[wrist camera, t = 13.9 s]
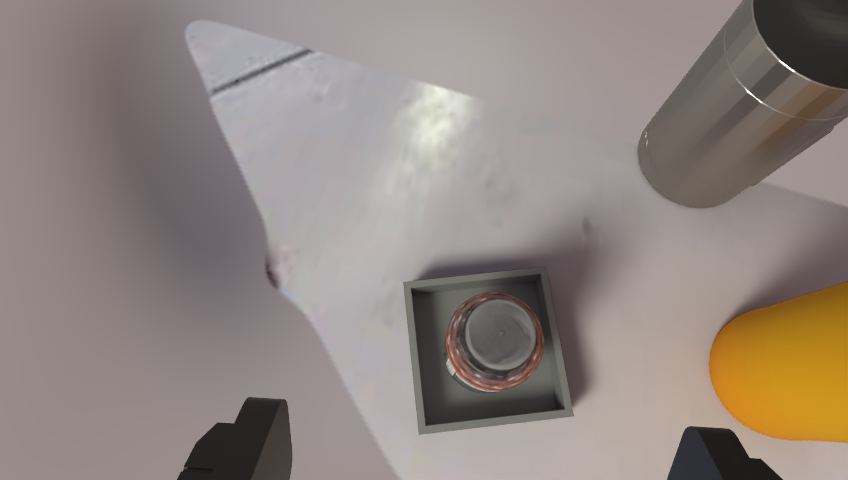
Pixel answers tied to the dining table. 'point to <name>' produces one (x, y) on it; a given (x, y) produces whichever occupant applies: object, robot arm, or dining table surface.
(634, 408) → the dining table surface
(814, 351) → the yellow bottle
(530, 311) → the supplement bottle
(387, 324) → the dining table surface
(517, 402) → the tray
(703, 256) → the dining table surface
